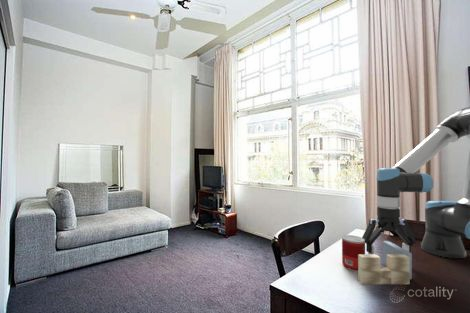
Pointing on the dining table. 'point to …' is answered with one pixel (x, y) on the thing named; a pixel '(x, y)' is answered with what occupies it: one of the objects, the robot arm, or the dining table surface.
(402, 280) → the birch plate
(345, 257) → the canned food
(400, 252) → the pale blue plate
